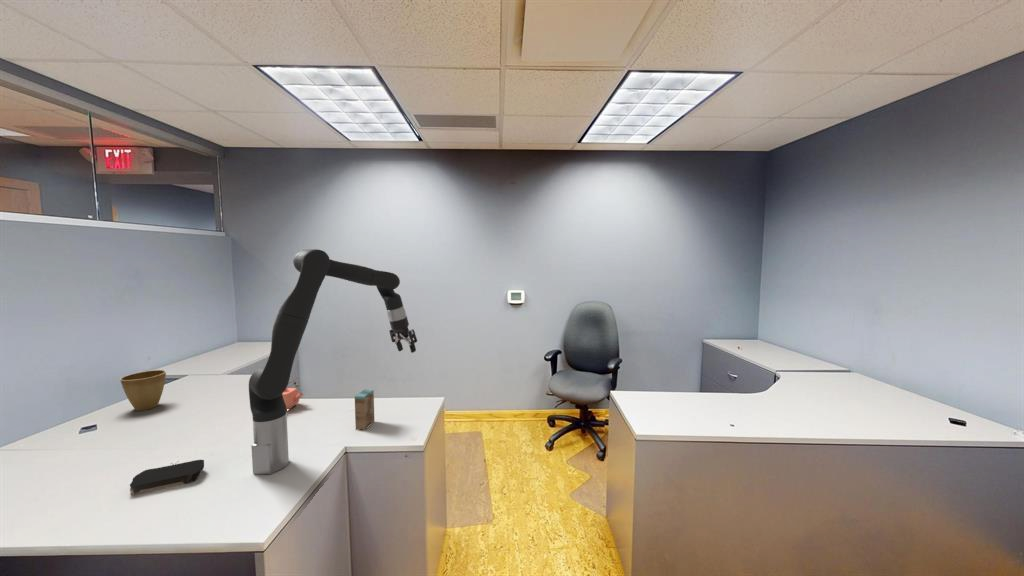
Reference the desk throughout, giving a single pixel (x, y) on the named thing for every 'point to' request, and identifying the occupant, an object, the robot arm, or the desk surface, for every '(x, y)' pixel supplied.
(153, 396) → the plant pot
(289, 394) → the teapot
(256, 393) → the robot arm
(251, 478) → the desk surface
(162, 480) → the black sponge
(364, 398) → the walnut block
